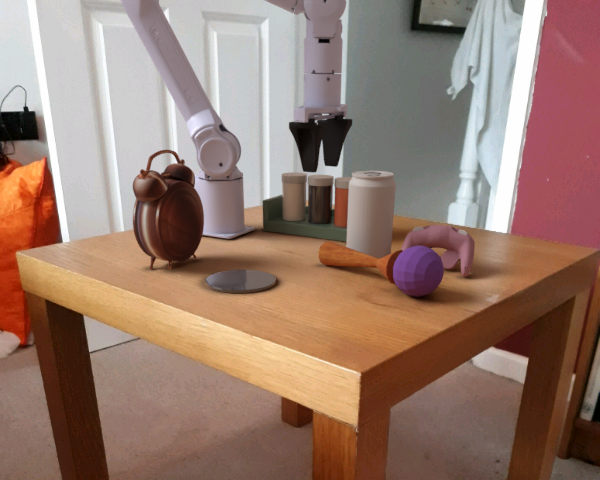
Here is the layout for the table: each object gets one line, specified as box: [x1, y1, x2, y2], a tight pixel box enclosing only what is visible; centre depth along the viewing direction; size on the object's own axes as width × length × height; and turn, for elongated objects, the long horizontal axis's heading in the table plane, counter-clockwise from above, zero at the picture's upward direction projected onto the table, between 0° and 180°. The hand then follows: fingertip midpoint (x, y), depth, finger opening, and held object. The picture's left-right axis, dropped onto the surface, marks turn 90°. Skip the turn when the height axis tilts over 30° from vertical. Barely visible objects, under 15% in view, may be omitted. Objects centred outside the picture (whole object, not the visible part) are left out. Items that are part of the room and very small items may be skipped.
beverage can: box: [345, 170, 397, 259], centre depth 88 cm, size 6×6×12 cm
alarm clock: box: [132, 149, 204, 270], centre depth 85 cm, size 11×5×15 cm, turn 154°
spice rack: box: [262, 194, 347, 243], centre depth 106 cm, size 18×9×5 cm, turn 61°
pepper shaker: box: [307, 174, 335, 224], centre depth 104 cm, size 4×4×7 cm
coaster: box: [205, 269, 277, 294], centre depth 81 cm, size 9×9×1 cm
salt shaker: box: [281, 171, 308, 221], centre depth 106 cm, size 4×4×7 cm
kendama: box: [318, 240, 445, 298], centre depth 81 cm, size 6×6×20 cm
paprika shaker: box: [333, 176, 353, 228], centre depth 102 cm, size 4×4×7 cm
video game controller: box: [400, 224, 476, 278], centre depth 86 cm, size 10×5×7 cm, turn 71°
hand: (320, 168), depth 102 cm, fingers open, 7 cm apart
